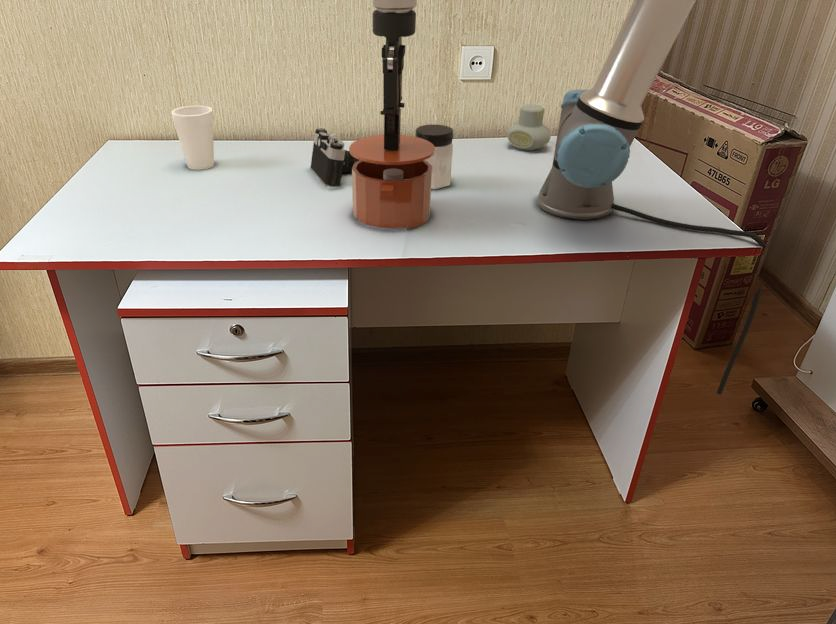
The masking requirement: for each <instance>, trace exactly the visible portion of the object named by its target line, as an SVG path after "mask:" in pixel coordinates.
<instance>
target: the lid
mask: <svg viewBox="0 0 836 624" xmlns="http://www.w3.org/2000/svg"><path fill="white" fill-rule="evenodd" d="M400 109H401V108H400V107H399V106H398V110H399V113H398V114H399V139H400V144H399V143H398V150H386V149H384V134H378V135H377V134H376V135H369V136H366V137H361V138H359V139H357V140H355V141H353V142H352V143H350V145H349V147H348V151H349V152H350V154H351V155H352V156H353V157H355V158H357V159H359V160H361V161H365V162H369V163H374V164H384V165H402V164H411V163H416V162H420V161H424V160H426V159H428V158H430V157H432V156H433V155H434V153H435V147H434V145H433V144H432V143H431V142H429V141H427V140H425V139H421V138H418V137H416V136H412V135H405V134H401V122H400Z"/></svg>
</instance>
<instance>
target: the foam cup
mask: <svg viewBox="0 0 836 624" xmlns="http://www.w3.org/2000/svg"><path fill="white" fill-rule="evenodd" d="M170 113H171V117H172V123H173V125H174V129H175V131H176V134H177V137H178V141H179V143H180V146H181V149H182V153H183V156H184V160H185V163H186V165H187V168H189V169H190V170H193V171H195V170H196V171H197V170H199V171H201V170H207V169H210V168H213V167H214V166H215V162H214V161H215V148H214V146H215V145H214V121H215V118H214V110H213V108H212V107H211V106H206V105H185V106H180V107H177V108H174V109H173V110H171V112H170Z"/></svg>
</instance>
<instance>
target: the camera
mask: <svg viewBox="0 0 836 624" xmlns="http://www.w3.org/2000/svg"><path fill="white" fill-rule="evenodd" d="M357 161H359V159H357V158H355V157H353V156H352V155H351V154H350V152H349V150H346V149H345V142H344V141H342V139H341V138H340V137H339V136H338V135H337V134H336V133H335V132H332V133H328V130H327V129H326V127H324V126H318V127H317V128H316V129H315V131H314V136H313V145H312V153H311V161H310V170H311V171H312V172H313V174H314V175H315V176H316V177H317V178H318V180H319V181H320V182H321V183H322V184H323V186H325V187H327V188H335V187H340V186H341V182H342V175H343V174H346V173H351V174H352V167H353V165H354V163H356V162H357Z"/></svg>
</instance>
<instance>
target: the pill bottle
mask: <svg viewBox="0 0 836 624" xmlns="http://www.w3.org/2000/svg"><path fill="white" fill-rule="evenodd" d="M383 179H384V180H403V171H402V170H400V169H386V170H385V171H384V172H383Z"/></svg>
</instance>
